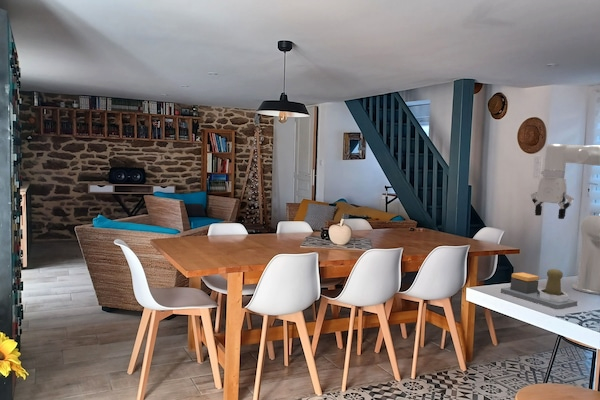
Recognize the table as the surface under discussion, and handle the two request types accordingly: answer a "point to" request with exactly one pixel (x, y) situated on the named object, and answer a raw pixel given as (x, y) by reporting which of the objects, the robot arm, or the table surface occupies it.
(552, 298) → the ring
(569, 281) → the table surface
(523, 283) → the grey base plate
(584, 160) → the robot arm
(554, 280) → the cork
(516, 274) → the button
